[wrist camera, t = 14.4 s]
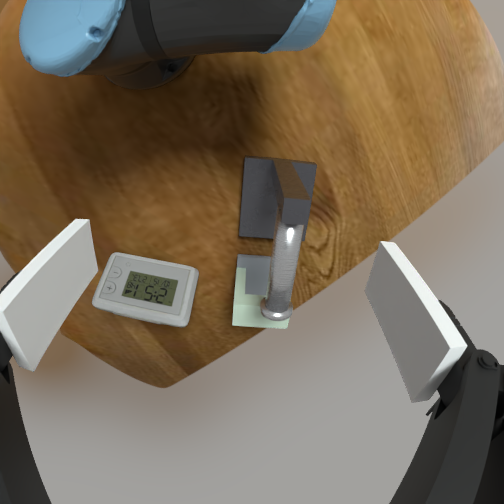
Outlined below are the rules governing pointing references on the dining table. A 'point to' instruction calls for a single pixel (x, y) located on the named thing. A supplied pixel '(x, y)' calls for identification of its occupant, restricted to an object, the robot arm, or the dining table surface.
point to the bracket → (250, 307)
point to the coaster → (255, 273)
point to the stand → (277, 221)
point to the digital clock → (147, 289)
